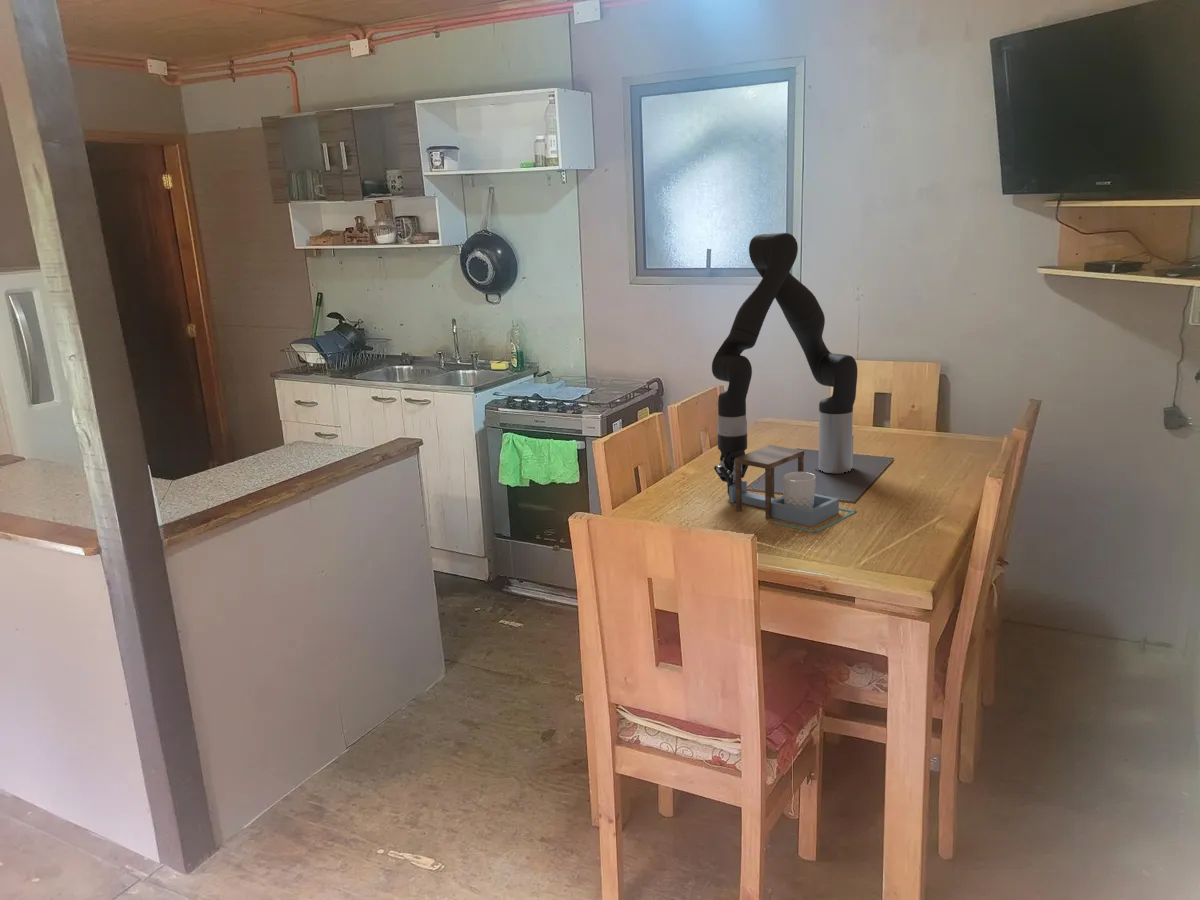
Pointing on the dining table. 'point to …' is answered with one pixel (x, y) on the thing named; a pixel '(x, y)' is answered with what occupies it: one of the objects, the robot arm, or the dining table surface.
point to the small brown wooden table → (766, 469)
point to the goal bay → (822, 526)
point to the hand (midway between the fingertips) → (733, 495)
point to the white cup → (799, 489)
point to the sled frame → (790, 507)
